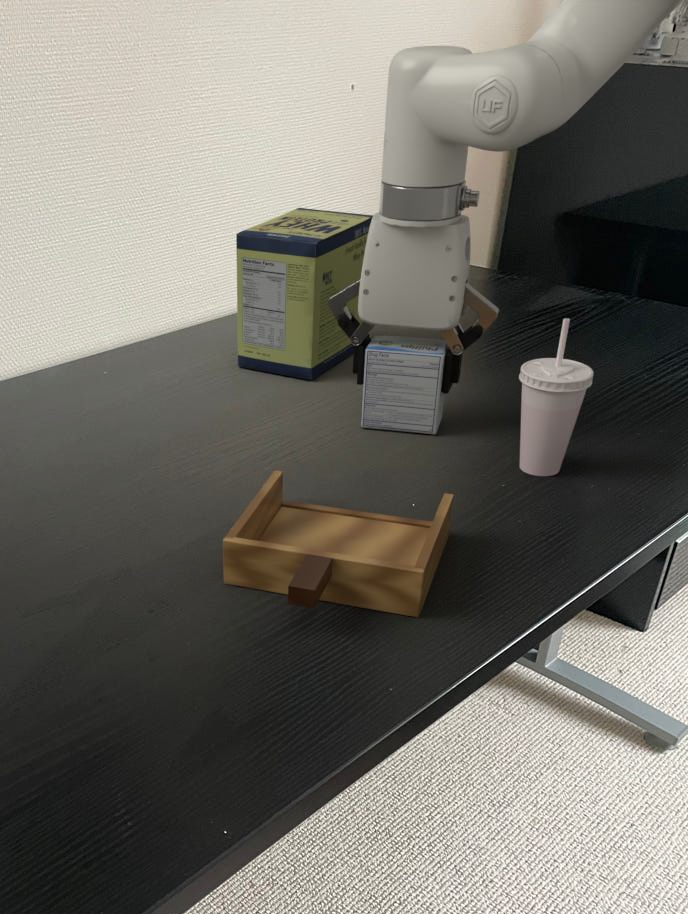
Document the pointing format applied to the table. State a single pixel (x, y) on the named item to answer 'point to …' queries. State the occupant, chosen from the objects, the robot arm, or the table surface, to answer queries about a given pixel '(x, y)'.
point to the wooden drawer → (335, 553)
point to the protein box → (297, 290)
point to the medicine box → (403, 384)
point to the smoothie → (550, 408)
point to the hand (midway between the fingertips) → (404, 383)
